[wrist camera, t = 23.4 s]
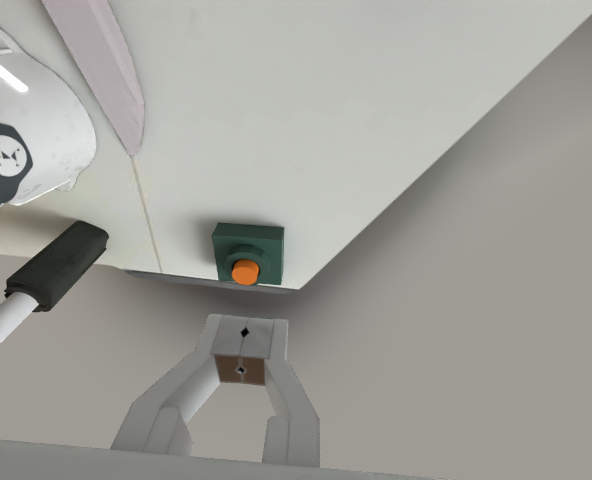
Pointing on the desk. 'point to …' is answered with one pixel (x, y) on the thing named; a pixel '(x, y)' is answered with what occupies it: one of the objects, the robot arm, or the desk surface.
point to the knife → (103, 62)
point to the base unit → (249, 250)
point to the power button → (245, 272)
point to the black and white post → (50, 274)
